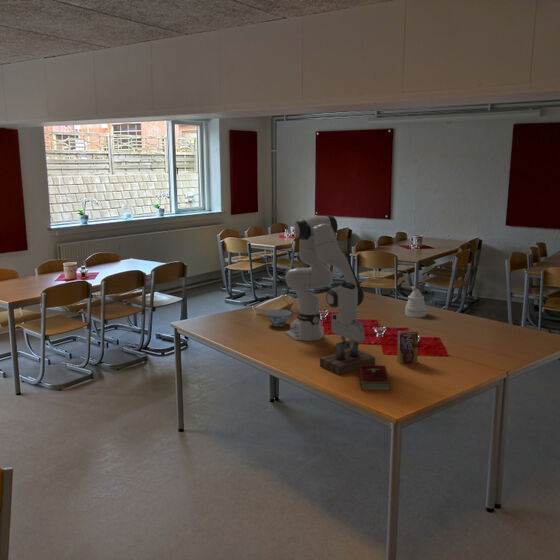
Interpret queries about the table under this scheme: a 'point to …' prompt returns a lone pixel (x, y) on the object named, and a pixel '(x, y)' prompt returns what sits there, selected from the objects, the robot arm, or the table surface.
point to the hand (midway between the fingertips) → (347, 346)
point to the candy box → (407, 347)
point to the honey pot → (415, 304)
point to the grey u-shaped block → (344, 345)
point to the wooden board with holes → (346, 362)
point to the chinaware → (278, 317)
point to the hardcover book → (373, 377)
